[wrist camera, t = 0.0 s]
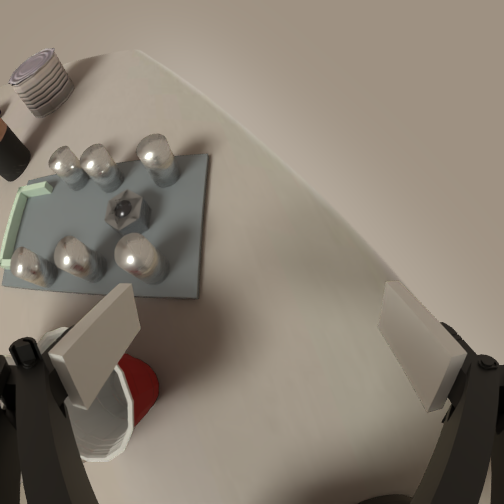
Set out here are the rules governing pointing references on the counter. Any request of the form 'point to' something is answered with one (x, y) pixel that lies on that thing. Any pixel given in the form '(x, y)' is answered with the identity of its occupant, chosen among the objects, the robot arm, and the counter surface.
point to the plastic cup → (111, 406)
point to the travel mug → (11, 154)
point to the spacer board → (106, 238)
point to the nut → (128, 213)
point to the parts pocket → (19, 218)
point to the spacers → (109, 180)
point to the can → (42, 83)
